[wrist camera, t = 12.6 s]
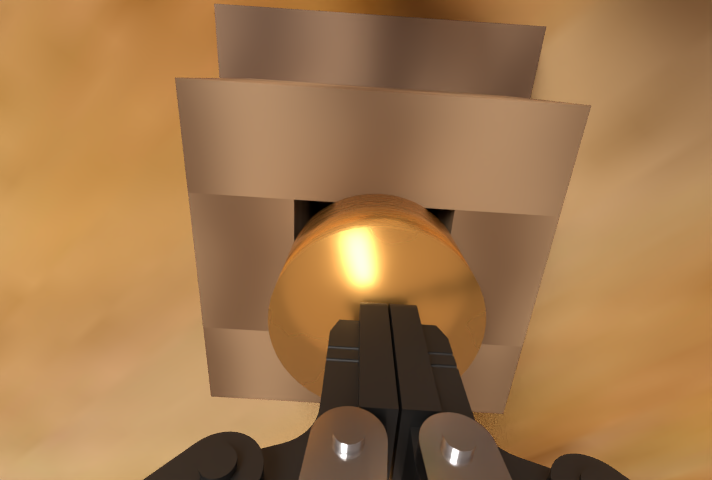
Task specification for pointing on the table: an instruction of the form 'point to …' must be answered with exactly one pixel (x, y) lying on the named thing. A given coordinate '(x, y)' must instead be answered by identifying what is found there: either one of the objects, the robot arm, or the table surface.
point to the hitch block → (369, 167)
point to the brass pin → (371, 280)
